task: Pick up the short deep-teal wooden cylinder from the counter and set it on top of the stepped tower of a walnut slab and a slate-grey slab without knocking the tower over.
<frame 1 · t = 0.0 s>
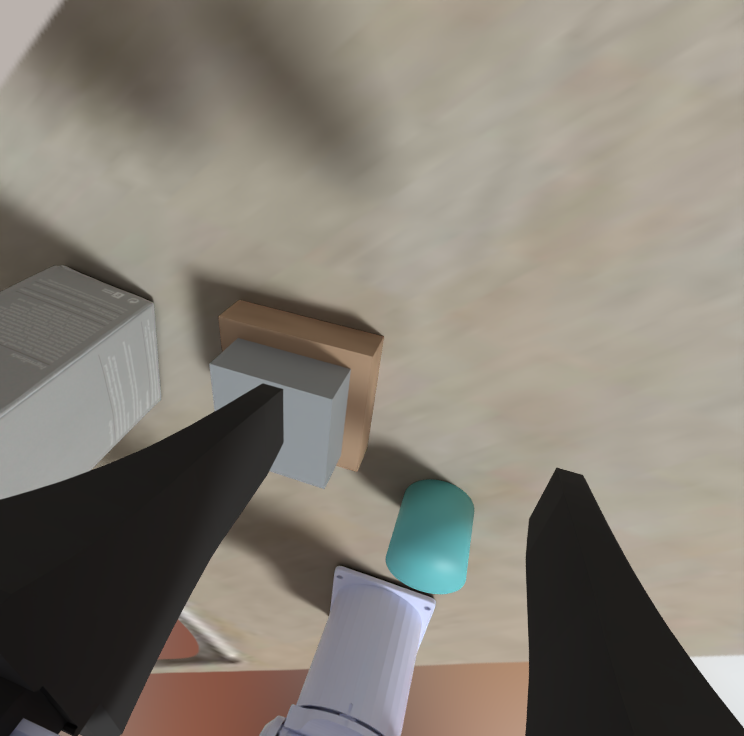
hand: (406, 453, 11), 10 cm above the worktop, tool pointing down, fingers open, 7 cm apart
teal cylinder: (438, 504, 27), on the worktop
skincare box: (124, 339, 28), on the worktop
walnut base slab: (311, 373, 25), on the worktop, touching slate top slab
slate top slab: (292, 399, 23), point 2 cm above the worktop, touching walnut base slab
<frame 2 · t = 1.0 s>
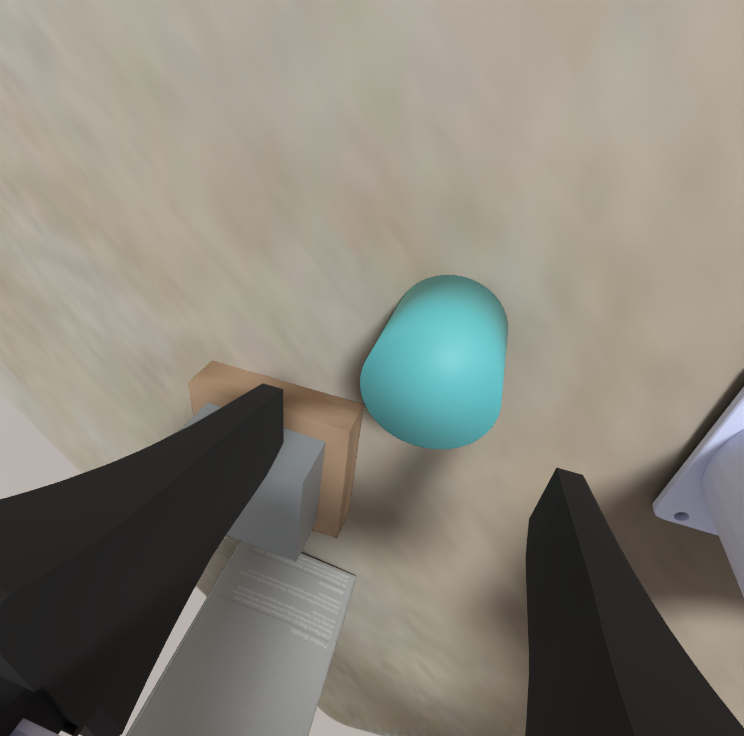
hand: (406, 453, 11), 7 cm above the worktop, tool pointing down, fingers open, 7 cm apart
teal cylinder: (449, 328, 17), on the worktop
skincare box: (300, 568, 31), on the worktop
walnut base slab: (290, 433, 24), on the worktop, touching slate top slab
slate top slab: (265, 464, 22), point 2 cm above the worktop, touching walnut base slab
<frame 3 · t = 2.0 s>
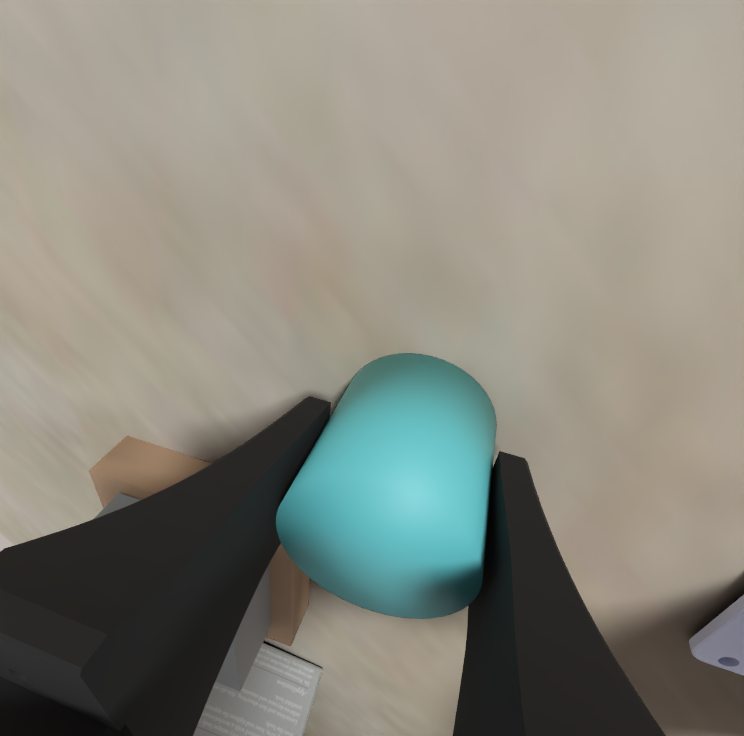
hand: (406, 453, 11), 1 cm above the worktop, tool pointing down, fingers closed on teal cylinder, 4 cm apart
teal cylinder: (417, 419, 13), on the worktop, touching gripper
skincare box: (259, 652, 26), on the worktop
walnut base slab: (232, 516, 20), on the worktop
slate top slab: (200, 564, 17), point 2 cm above the worktop
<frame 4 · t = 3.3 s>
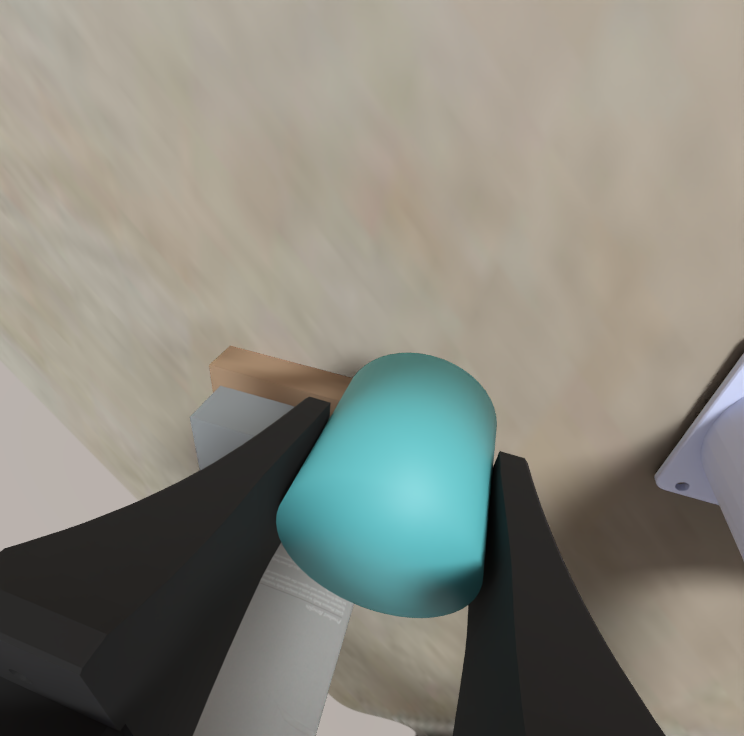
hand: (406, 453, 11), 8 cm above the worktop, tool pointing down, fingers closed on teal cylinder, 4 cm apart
teal cylinder: (417, 418, 13), point 7 cm above the worktop, touching gripper
skincare box: (312, 551, 32), on the worktop
walnut base slab: (305, 415, 25), on the worktop, touching slate top slab
slate top slab: (277, 444, 23), point 2 cm above the worktop, touching walnut base slab
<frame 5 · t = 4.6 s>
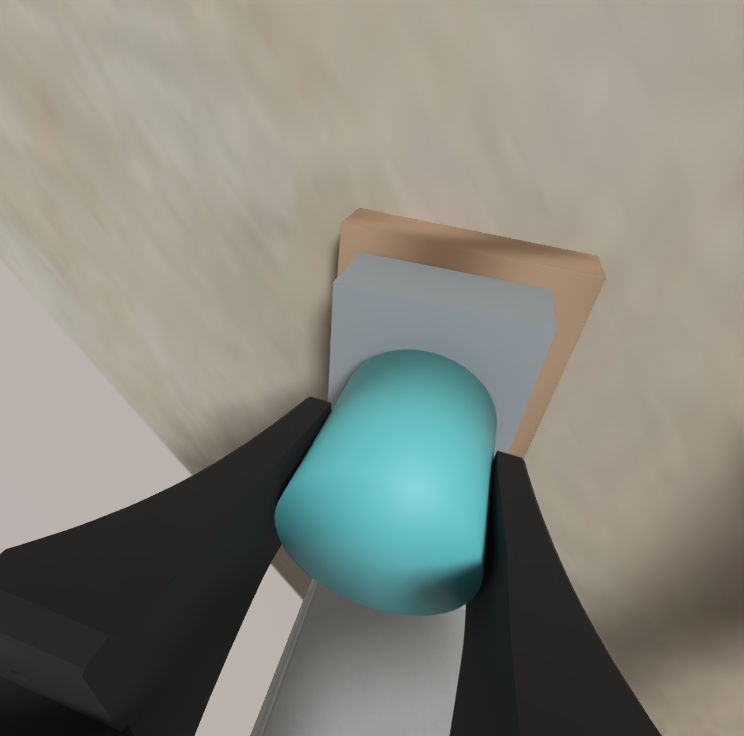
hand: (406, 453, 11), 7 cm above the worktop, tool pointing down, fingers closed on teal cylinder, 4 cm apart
teal cylinder: (417, 415, 13), point 5 cm above the worktop, touching gripper
skincare box: (416, 527, 24), on the worktop
walnut base slab: (449, 325, 17), on the worktop, touching slate top slab
slate top slab: (435, 350, 15), point 2 cm above the worktop, touching walnut base slab
when the fingers open (7 cm above the worktop, at t = 4.7 s): teal cylinder drops 1 cm, resting on slate top slab.
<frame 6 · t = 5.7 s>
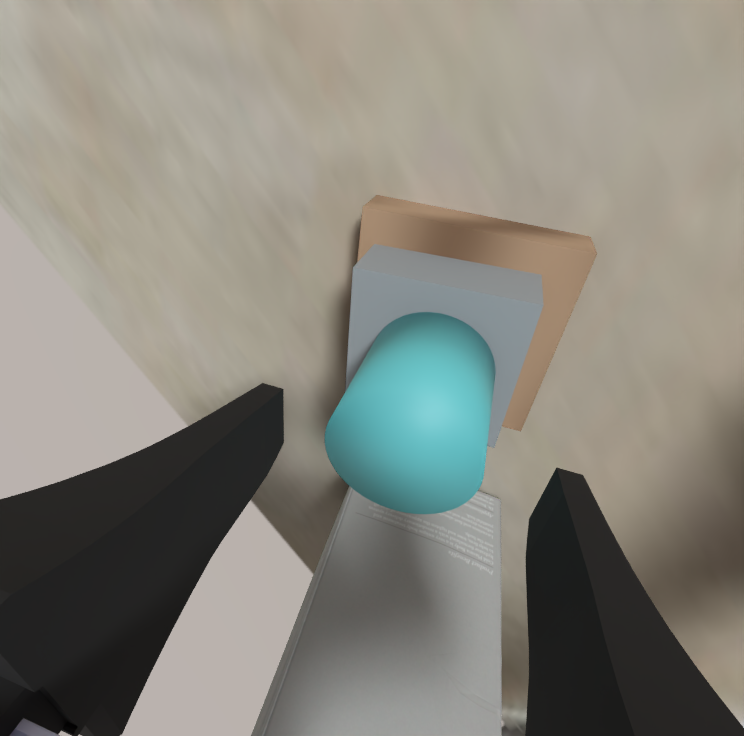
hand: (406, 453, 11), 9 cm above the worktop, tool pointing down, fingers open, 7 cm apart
teal cylinder: (430, 368, 15), point 4 cm above the worktop, touching slate top slab
skincare box: (422, 497, 26), on the worktop
walnut base slab: (457, 303, 19), on the worktop, touching slate top slab
slate top slab: (440, 331, 17), point 2 cm above the worktop, touching teal cylinder, walnut base slab
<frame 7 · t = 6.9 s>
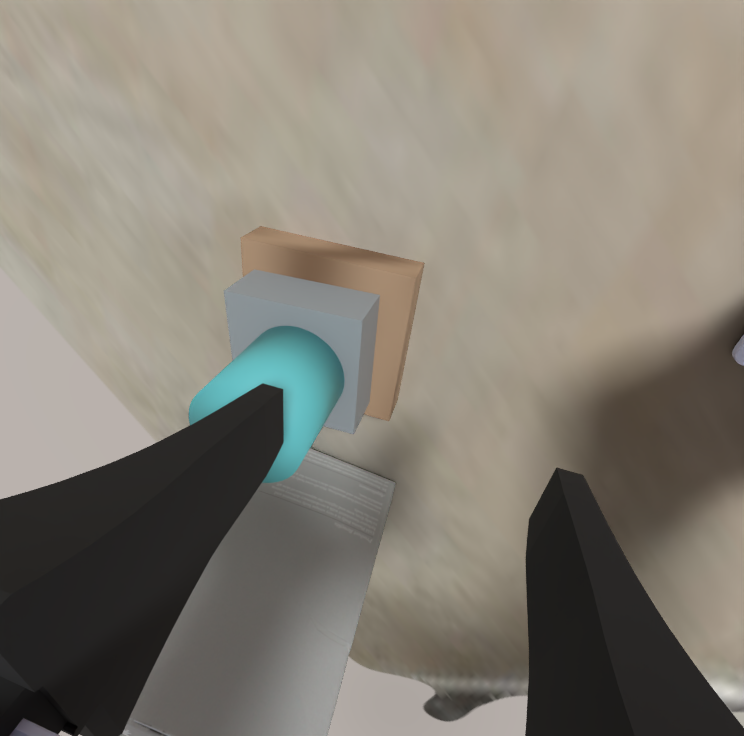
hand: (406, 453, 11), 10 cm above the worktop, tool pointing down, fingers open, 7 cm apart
teal cylinder: (296, 371, 19), point 4 cm above the worktop, touching slate top slab
skincare box: (335, 481, 30), on the worktop
walnut base slab: (338, 314, 23), on the worktop
slate top slab: (315, 339, 21), point 2 cm above the worktop, touching teal cylinder
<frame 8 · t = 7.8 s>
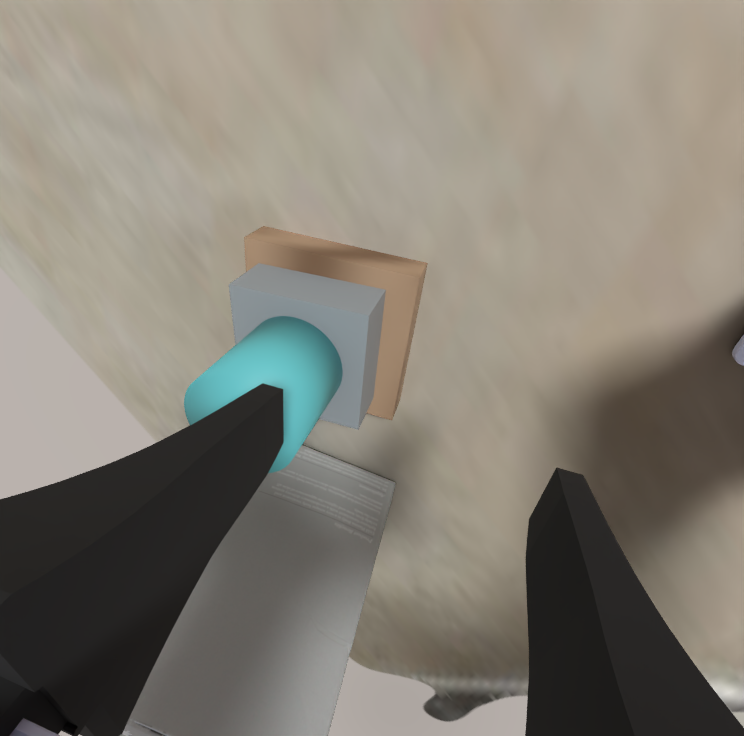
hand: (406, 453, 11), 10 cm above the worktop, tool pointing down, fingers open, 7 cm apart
teal cylinder: (295, 362, 19), point 4 cm above the worktop
skincare box: (335, 481, 30), on the worktop
walnut base slab: (341, 313, 23), on the worktop, touching slate top slab
slate top slab: (319, 334, 21), point 2 cm above the worktop, touching walnut base slab
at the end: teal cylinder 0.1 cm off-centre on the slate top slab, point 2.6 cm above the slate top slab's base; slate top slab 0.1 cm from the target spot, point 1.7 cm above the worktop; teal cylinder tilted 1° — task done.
